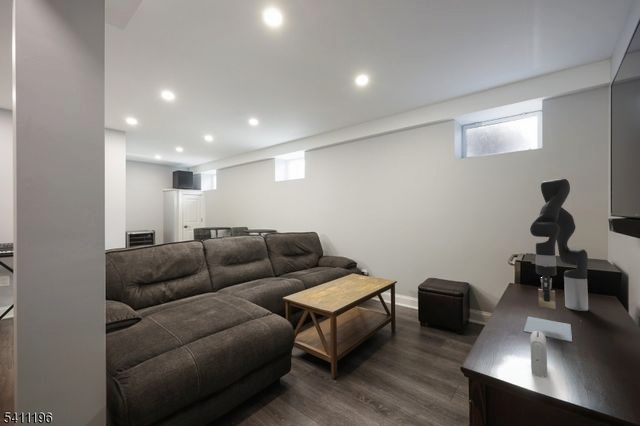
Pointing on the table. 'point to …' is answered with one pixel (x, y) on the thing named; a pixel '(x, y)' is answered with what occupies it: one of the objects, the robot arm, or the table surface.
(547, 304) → the tile
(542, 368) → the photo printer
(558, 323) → the mat
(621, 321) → the table surface
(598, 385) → the table surface
